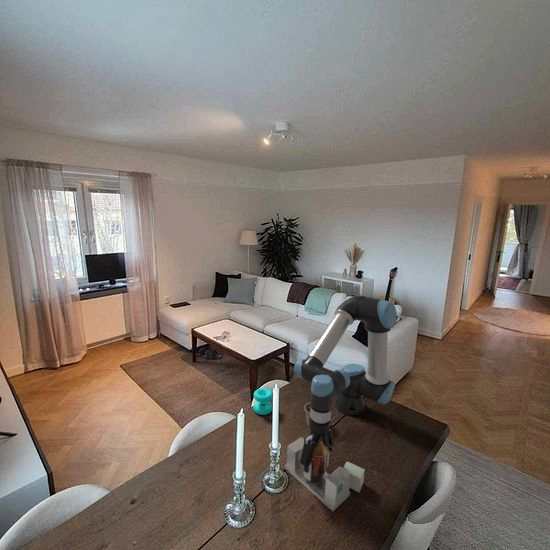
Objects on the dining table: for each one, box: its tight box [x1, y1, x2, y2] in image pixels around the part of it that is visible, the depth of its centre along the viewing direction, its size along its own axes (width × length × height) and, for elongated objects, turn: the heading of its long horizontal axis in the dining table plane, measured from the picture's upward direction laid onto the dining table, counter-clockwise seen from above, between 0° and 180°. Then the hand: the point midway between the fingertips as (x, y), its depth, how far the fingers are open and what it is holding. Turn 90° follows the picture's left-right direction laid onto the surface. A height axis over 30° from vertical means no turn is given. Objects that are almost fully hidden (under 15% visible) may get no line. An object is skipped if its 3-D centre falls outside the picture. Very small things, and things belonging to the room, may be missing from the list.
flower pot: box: [304, 402, 311, 428], centre depth 147 cm, size 9×9×9 cm
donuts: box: [252, 387, 273, 416], centre depth 157 cm, size 10×10×10 cm
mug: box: [311, 440, 329, 478], centre depth 114 cm, size 12×9×10 cm
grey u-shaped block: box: [284, 436, 351, 512], centre depth 115 cm, size 10×25×10 cm, turn 41°
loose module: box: [342, 461, 366, 493], centre depth 115 cm, size 5×7×6 cm
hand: (316, 471), depth 115 cm, fingers closed on mug, 9 cm apart
